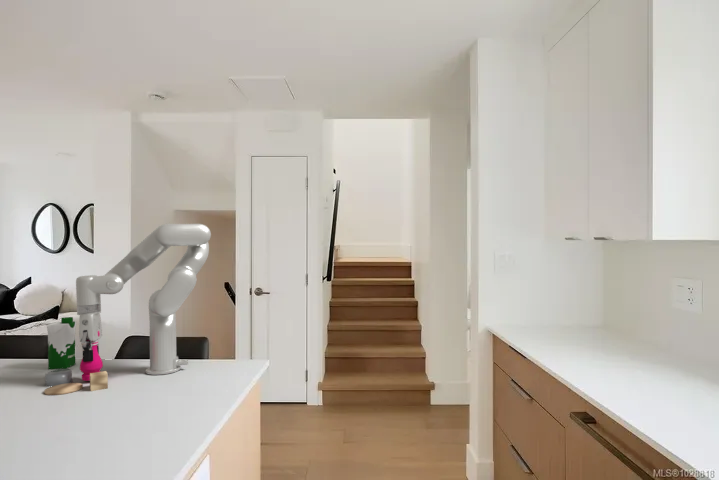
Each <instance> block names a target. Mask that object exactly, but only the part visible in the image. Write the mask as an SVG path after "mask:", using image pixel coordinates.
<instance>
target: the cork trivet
mask: <svg viewBox="0 0 719 480" xmlns="http://www.w3.org/2000/svg"><path fill="white" fill-rule="evenodd" d="M83 388H84V385H83V383H81V382H71V383H66V384H60V385H55V386H52V387H49V386H48V387H47V388H46V389H44V393H43V394H44V395H46V396H60V395H67V394H72V393H75V392H78V391H80V390H82V389H83Z"/></svg>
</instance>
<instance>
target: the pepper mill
mask: <svg viewBox="0 0 719 480" xmlns="http://www.w3.org/2000/svg"><path fill="white" fill-rule="evenodd" d="M99 335H100V333H99V331H98V337H99ZM87 341H90V340H87ZM98 343H99V339H98V340H97V341H95V342H93V341H92V350H93V361H90V362H83V357H82V358H81V361H80V363H79V370H80V372H82V374H81V380H82V381H86V382H87V381H89V382H90V373H96V372H102V371H101V370H102V368H103V367H104V366H103V365H104V363H103V360H102V358H101V356H100V353H99V354H98V350H97V344H98ZM88 344H89V345H90V343H88Z"/></svg>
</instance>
